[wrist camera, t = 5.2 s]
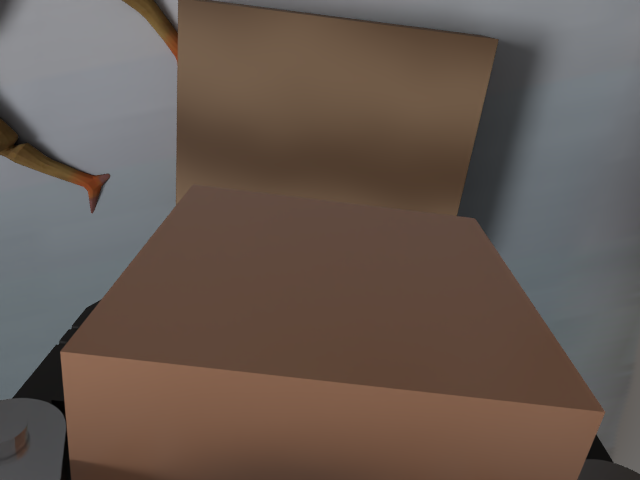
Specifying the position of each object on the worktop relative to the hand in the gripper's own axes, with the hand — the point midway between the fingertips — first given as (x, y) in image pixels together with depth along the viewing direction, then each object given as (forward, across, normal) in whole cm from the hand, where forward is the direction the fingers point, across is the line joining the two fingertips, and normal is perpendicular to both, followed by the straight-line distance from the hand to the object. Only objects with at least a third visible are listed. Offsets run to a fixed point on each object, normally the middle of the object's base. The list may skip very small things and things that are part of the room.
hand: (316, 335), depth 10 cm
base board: (+16, 0, 0) cm, 16 cm away
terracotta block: (0, 0, 0) cm, 0 cm away
